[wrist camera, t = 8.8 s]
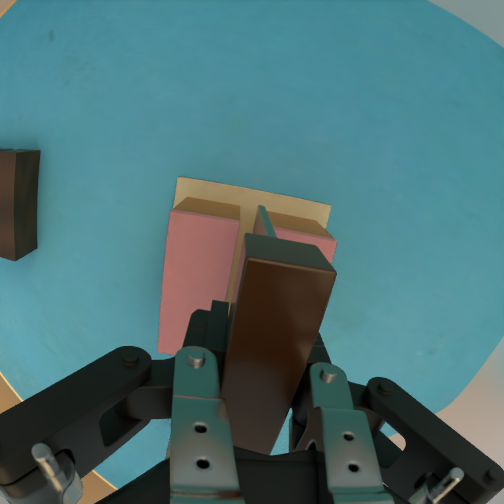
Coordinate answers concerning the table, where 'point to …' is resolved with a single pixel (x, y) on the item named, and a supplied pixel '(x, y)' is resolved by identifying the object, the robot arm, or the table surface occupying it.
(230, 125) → the table surface
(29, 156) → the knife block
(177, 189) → the pink slotted holder
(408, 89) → the table surface
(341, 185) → the table surface
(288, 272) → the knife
